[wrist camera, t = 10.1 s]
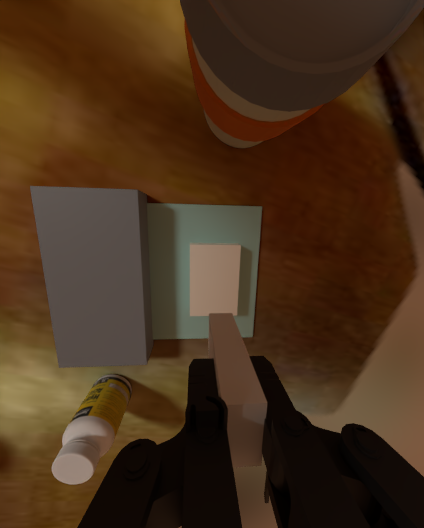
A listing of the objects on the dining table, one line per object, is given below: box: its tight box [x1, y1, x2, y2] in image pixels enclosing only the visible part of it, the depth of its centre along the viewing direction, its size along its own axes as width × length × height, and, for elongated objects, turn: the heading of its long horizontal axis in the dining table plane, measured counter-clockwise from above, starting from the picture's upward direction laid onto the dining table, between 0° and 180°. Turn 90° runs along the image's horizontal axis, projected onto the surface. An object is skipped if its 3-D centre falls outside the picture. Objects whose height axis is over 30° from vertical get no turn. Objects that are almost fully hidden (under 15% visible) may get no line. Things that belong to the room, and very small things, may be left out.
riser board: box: [30, 186, 154, 368], centre depth 24 cm, size 20×10×4 cm, turn 179°
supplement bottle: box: [52, 374, 132, 484], centre depth 25 cm, size 5×5×10 cm
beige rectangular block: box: [190, 243, 241, 316], centre depth 26 cm, size 9×6×2 cm, turn 179°
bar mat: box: [147, 203, 262, 339], centre depth 27 cm, size 18×14×1 cm
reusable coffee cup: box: [180, 0, 424, 148], centre depth 15 cm, size 13×12×15 cm
